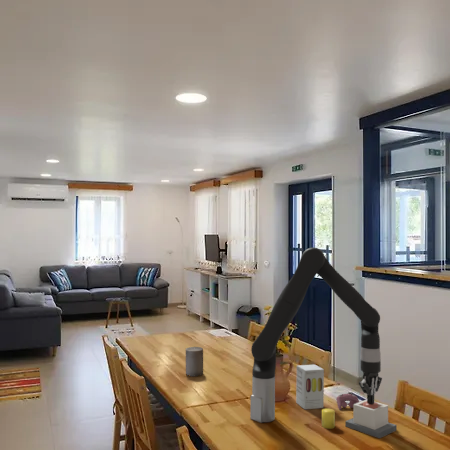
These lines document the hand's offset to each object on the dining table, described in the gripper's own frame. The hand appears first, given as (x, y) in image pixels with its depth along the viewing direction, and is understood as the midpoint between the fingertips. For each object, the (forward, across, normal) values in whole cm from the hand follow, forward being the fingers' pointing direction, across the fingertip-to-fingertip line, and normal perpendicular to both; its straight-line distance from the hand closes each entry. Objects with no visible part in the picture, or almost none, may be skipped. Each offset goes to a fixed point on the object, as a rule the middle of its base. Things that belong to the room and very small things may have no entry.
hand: (370, 403), depth 187 cm
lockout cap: (+10, -11, +12) cm, 19 cm away
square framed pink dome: (+10, 0, 0) cm, 10 cm away
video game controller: (+10, +12, +19) cm, 25 cm away
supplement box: (+10, +2, +32) cm, 34 cm away
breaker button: (+4, 0, 0) cm, 4 cm away
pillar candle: (+9, -8, +104) cm, 105 cm away
